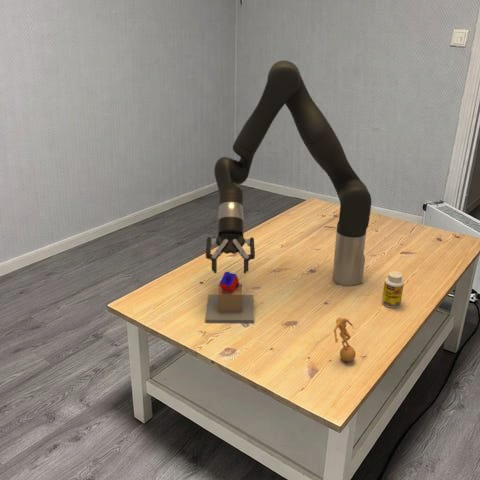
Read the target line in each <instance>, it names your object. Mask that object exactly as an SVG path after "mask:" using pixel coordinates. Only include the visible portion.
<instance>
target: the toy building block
mask: <svg viewBox="0 0 480 480" xmlns="http://www.w3.org/2000/svg"><path fill="white" fill-rule="evenodd" d="M219 284H220V286H221V288H222V290H225V291H229V292H234V290H235V287H236V286H239V284H240V281H239V278H238V275H237V273H233V272H230V271H224V274H223V276H222V278H221V280H220V282H219Z"/></svg>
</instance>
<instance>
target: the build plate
mask: <svg viewBox="0 0 480 480" xmlns="http://www.w3.org/2000/svg"><path fill="white" fill-rule="evenodd" d="M254 301H255V299H254V294H243V284H242V283H239V286H236V287H235V290H234V292H229V291H225V290H222V288H221V286H220V283H219V284H218V288H217V294H208V295H207V305H206V312H205V320H204V321H205V322H204V323H207V324H208V323H209V324H211V323H213V324H217V323H219V324H220V323H221V324H226V323H229V324H233V323H234V324H254V323H255V309H254V308H255V303H254Z"/></svg>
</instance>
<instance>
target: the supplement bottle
mask: <svg viewBox="0 0 480 480" xmlns="http://www.w3.org/2000/svg"><path fill="white" fill-rule="evenodd" d="M404 285H405V282H404V280H403V274H402V273H401V272H400V271H396V270H395V271H389V272H388V273H387V277H386V278H384V284H383V291H382V299H381V302H382V305H383V306H385V307H388V308H390V309H391V308H392V309H393V308H398V307H400V305H401V303H402V297H403V292H404V291H403V290H404Z"/></svg>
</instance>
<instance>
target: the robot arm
mask: <svg viewBox="0 0 480 480" xmlns="http://www.w3.org/2000/svg"><path fill="white" fill-rule="evenodd" d="M264 86H265V87H264V89H263V91H262V95H261V96H260V99H259V101H258V103H257V105H256V106H255V108H254V110H253V112H252V113H251V115H250V116H249V117H248V119H247V120H246V121H245V123H244V125H243V126H242V128H241V129H240V132H239V133H238V135H237V137H236V138H235V141H234V142H233V145H232V150H233V152H234V154H236V155H237V156H239V160H236V159H233V158H231V157H227V156H222V157H220V158H218V160H217V161H216V162H215V165H214V171H213V172H214V177H215V178H214V179H215V181H216V185H217V189H218V193H219V203H218V204H219V208H218V211H217V212H218V214H217V215H218V217H217V238H212V237H210V236H209V237H206V245H205V246H206V247H205V258H206V259H207V260H210V261H211V271H212V272H213V273H214V274H217V270H218V269H217V268H218V265H217V264H218V261H217V260H218V258H219V257H220V256H222V254H223V253H224V254H225V255H226V254H227V255H228V254H234V255H236V254H237V253H238V254H239V256H240V257H241V258H242V259H243V274H247V272H249V263H250V262H249V261H250V260H255V258H256V257H255V256H256V251H255V250H256V248H255V239H254V237H249V238H245V236H244V221H245V218H244V205H243V204H244V203H243V202H244V195H243V190H242V189H241V187H239V186H237V185H241V184H243V183H245V182H246V181H247V179H248V177H249V174H250V171H251V167H252V163H253V159H254V156H255V154H256V153H257V151H258V149H259V147H260V145H261V144H262V142H263V140H264V138H265V136H266V135H267V132H268V131H269V129H270V127H271V125H272V123H273V122H274V120H275V119H276V117H277V116H278V114H279V112H280V111H281V109H282V108H284V106H286V107H287V109H288V110H289V112H290V115H291V117H292V119H293V121H294V125H295V127H296V129H297V132H298V134H299V137H300V139H301V141H302V143H303V144H304V145H305V147H306V149H307V150H308V152H309V154H310V156H311V157H312V158H313V160H314V161H315V162H316V164H318V165H319V167H320V168H321V169H322V170H323V172H325V173H326V175H327V176H328V177H329V179H330V181H331V184H332V185H333V188H334V189H335V192H336V194H337V197H338V200H339V203H340V206H339V214H338V215H339V217H338V222H337V224H336V234H335V243H334V244H335V247H334V255H333V256H334V257H333V268H332V280H333V282H334V283H336V284H338V285H341V286H347V287H348V286H351V287H352V286H356V285H358V284H363V279H364V278H363V277H364V271H365V262H366V261H365V260H366V256H365V255H364V254H365V246H366V238H367V237H366V236H367V229H368V228H369V223H370V217H371V212H372V211H371V209H372V195H371V193H370V192H369V189H368V187H367V186H366V184H365V183H364V182H363V181H362V180H361V178H360V177H359V176H358V174H357V173H356V171H355V170H354V169H353V167H352V166H351V164H350V162H349V160H348V159H347V155H346V153H345V151H344V148H343V146H342V144H341V142H340V140H339V138H338V136H337V134H336V132H335V131H334V129H333V127H332V125H331V124H330V123H329V121H328V120H327V117H326V116H325V115H324V113H323V112H322V111H321V110H320V108H319V107H318V105H317V104H316V103H315V101H314V99H313V98H312V96H311V94H310V93H309V91H308V89H307V86H306V84H305V82H304V80H303V78H302V75H301V72H300V70H299V68H298V66H297V65H296V64H294V63H293V62H291V61H289V60H279V61H276V62H275V63H273V64H272V66H271V68H270V69H269V70H268V74H267V80H266V83H265V85H264ZM215 244H216V245H217V246H218V247H217V248H216V250H215V251H214V252H213V254H212V253H211V252H212V251H211V250H212V247H213V246H214V245H215ZM245 244H246V245H247V247H249V250H250V251H249V253H250V254H248V253H247V252H246V251H245V249H244V248H243V247H244V245H245Z"/></svg>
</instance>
